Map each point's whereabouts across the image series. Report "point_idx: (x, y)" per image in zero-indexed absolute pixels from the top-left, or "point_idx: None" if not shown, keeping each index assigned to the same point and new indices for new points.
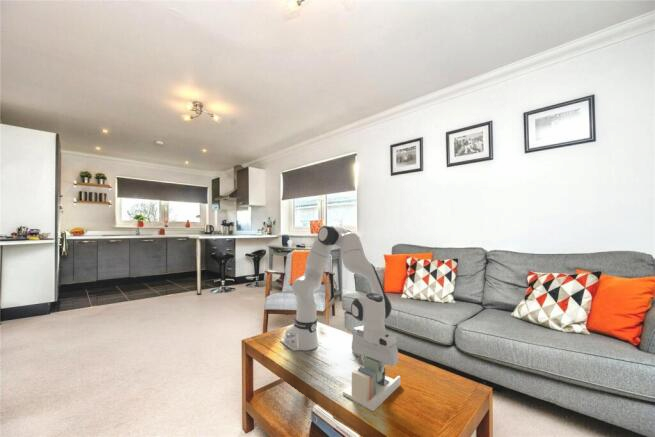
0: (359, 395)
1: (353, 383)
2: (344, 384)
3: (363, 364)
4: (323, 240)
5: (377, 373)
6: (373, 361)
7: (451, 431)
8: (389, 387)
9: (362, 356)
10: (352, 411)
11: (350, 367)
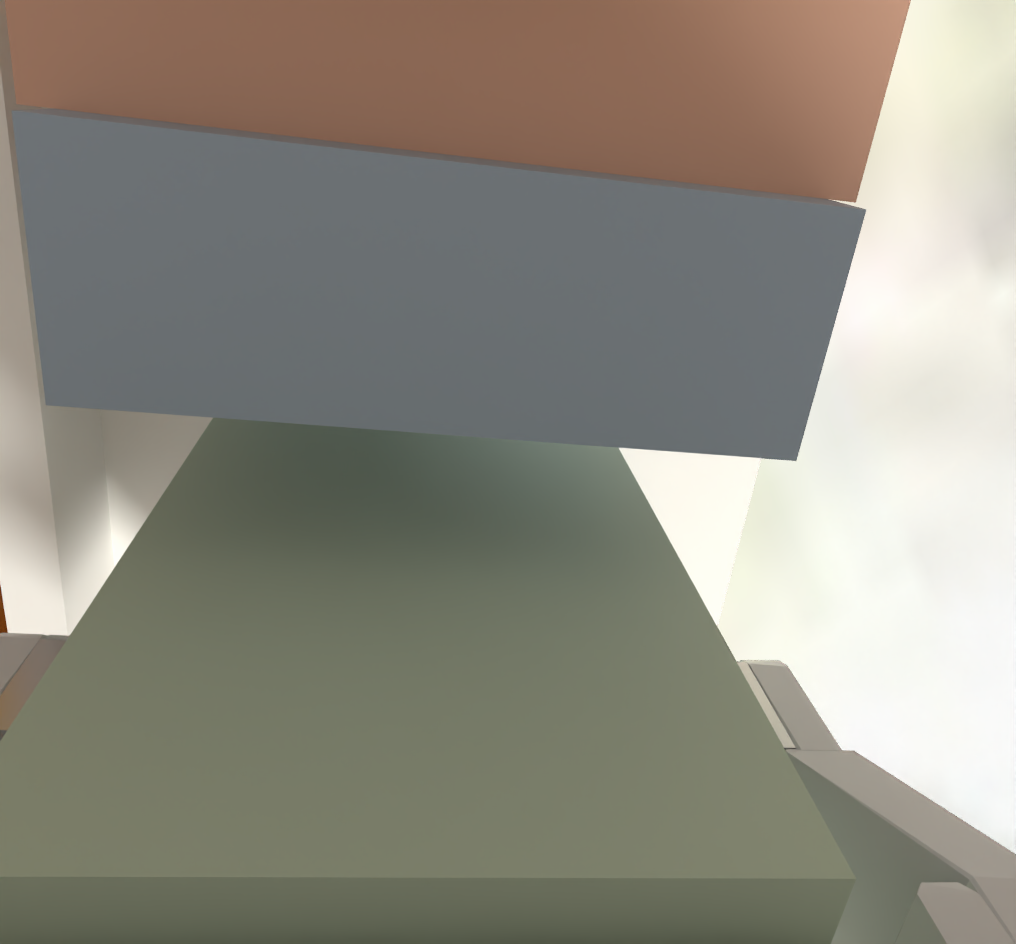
0: None
1: None
2: (960, 234)
3: (777, 673)
4: None
5: (138, 536)
6: (242, 843)
7: None
8: (1, 522)
9: (987, 907)
10: None
11: (1009, 739)
